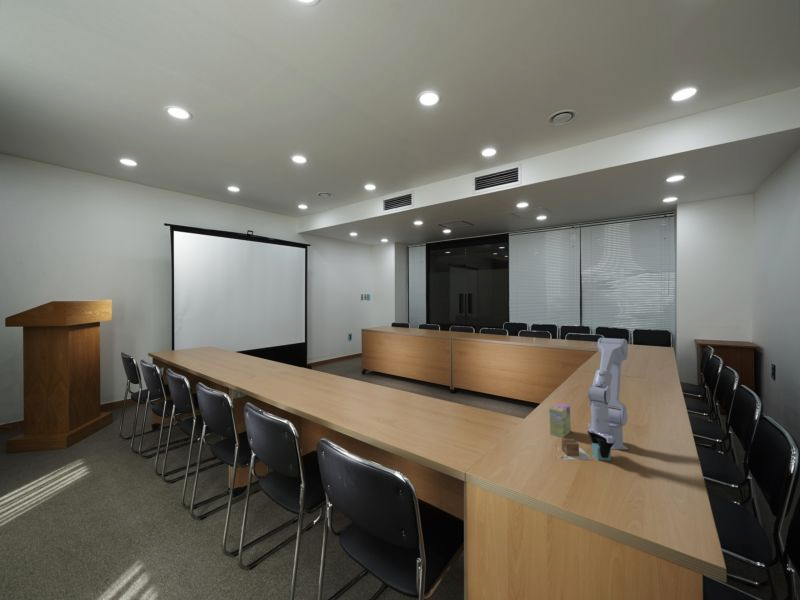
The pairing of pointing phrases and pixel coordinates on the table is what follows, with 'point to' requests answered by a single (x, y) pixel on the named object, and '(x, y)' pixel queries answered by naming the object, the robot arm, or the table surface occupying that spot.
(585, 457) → the baseplate
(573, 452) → the brick walnut
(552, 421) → the box
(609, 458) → the brick teal
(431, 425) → the table surface
